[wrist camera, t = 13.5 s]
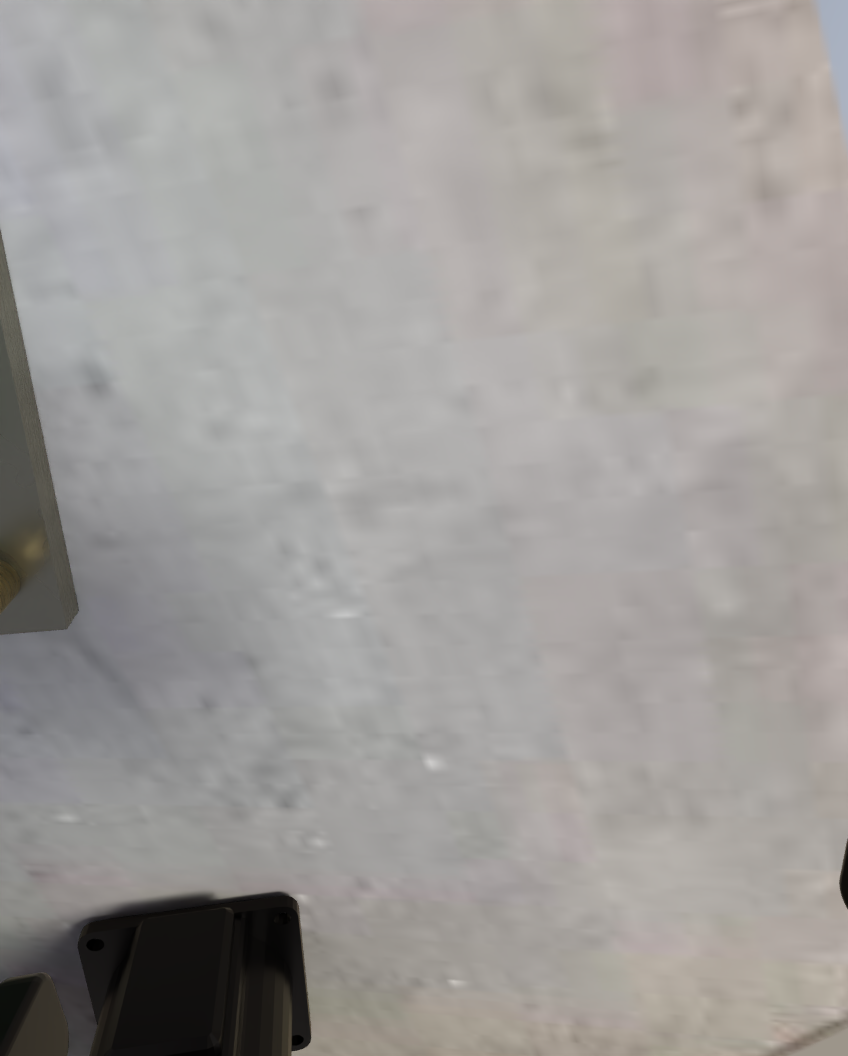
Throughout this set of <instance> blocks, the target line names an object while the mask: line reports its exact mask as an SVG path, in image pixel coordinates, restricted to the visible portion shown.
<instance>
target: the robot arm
mask: <svg viewBox="0 0 848 1056" xmlns="http://www.w3.org/2000/svg"><path fill="white" fill-rule="evenodd" d="M839 884H840V891H841V895H842V898H843V900H844V903H845V905H846V907H847V909H848V839H847V844H846V849H845V854H844V859H843V865H842V870H841V875H840V882H839ZM281 912H282V913H285V914H279V913H281ZM99 939H100V940H99ZM78 950H79V954H80V958H81V962H82V966H83V970H84V974H85V978H86V982H87V986H88V990H89V994H90V998H91V1002H92V1006H93V1009H94V1013H95V1017H96V1021H97V1025H98V1026H97V1029H96V1033H95V1037H94V1041H93V1044H92V1048H91V1052H90V1055H89V1056H291V1051H297V1050H300V1049H303V1048H305V1047H306V1046H308V1044H309V1043H310V1041H311V1021H310V1012H309V1002H308V992H307V982H306V972H305V963H304V953H303V943H302V933H301V924H300V914H299V905H298V903H297V901H296V900H295V899H294V898H292V897H289V896H277V897H270V898H263V899H255V900H248V901H240V902H233V903H226V904H218V905H211V906H204V907H196V908H189V909H181V910H174V911H167V912H159V913H152V914H145V915H137V916H130V917H122V918H115V919H108V920H100V921H95V922H91V923H89V924H87V925H86V926H84V928H83V930H82V932H81V935H80V938H79V941H78ZM68 1043H69V1032H68V1025H67V1021H66V1018H65V1015H64V1013H63V1010H62V1007H61V1004H60V1001H59V998H58V995H57V992H56V989H55V986H54V983H53V981H52V979H51V977H50V976H49V975H48V974H47V973H42V972H40V973H34V974H28V975H23V976H17V977H12V978H9V979H6V980H5V981H3V982H2V983H1V984H0V1056H67V1053H68Z"/></svg>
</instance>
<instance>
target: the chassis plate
mask: <svg viewBox="0 0 848 1056" xmlns="http://www.w3.org/2000/svg"><path fill="white" fill-rule="evenodd" d="M78 611H79V609H78V604H77V599H76V594H75V589H74V584H73V580H72V575H71V570H70V565H69V560H68V555H67V551H66V546H65V541H64V536H63V531H62V526H61V521H60V517H59V512H58V507H57V502H56V497H55V492H54V487H53V483H52V478H51V473H50V468H49V463H48V458H47V454H46V449H45V444H44V439H43V434H42V429H41V424H40V420H39V415H38V410H37V405H36V400H35V395H34V391H33V386H32V381H31V376H30V371H29V366H28V361H27V357H26V352H25V347H24V342H23V337H22V332H21V328H20V323H19V318H18V313H17V308H16V303H15V298H14V294H13V289H12V284H11V279H10V274H9V269H8V265H7V260H6V255H5V250H4V245H3V240H2V235H1V231H0V635H2V634H14V633H27V632H39V631H51V630H63V629H67V628H68V627H69V625H70V624H71V622H72V621H73V619H74V617H75V616H76V614H77V613H78Z"/></svg>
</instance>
